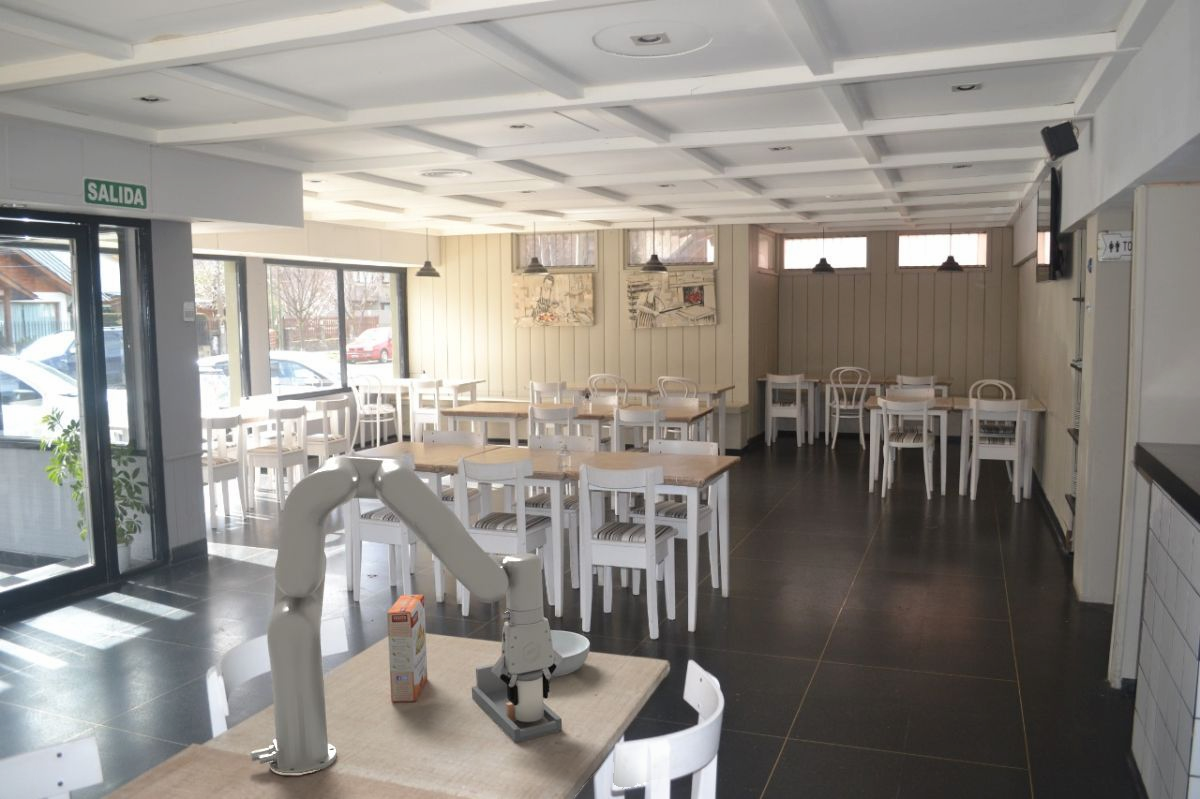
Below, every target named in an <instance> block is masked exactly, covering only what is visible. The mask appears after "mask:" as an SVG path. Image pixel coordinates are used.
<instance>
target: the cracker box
mask: <svg viewBox="0 0 1200 799" xmlns="http://www.w3.org/2000/svg"><path fill="white" fill-rule="evenodd" d="M425 610H426V608H425V594H402V595H400V596H399V598H398V599H397V600H396V602H395V603H394V604H393V605H392V606H391V607H390V609H389V610H388V611H387V613H386V614H387V616H386V618H387V631H388V632H387V635H388V636H387V637H388V655H389V656H388V658H389V678H390V679H389V680H390V681H389V682H390V701H391V703H406V702H407V703H409V702H412V703H413V702H416V700H417V698H418V697H419V695H420V693H421V691H422V689H423V687H424V686H425V684H426V682H427V680H428V660H427V634H426V631H427V630H426V611H425Z"/></svg>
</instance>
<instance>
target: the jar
mask: <svg viewBox="0 0 1200 799" xmlns="http://www.w3.org/2000/svg"><path fill="white" fill-rule="evenodd" d="M542 676H543V669H541V670H536V671H532V672H527V673H522V674H517V679H516V682H515V685H516V686H517V690H518V704H517V705H515V718H516V719H517V720H519V721H522V722H533V721H537V720H540V719H541V718H543V717H544V704H545V702H544V698H543V678H542Z"/></svg>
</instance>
